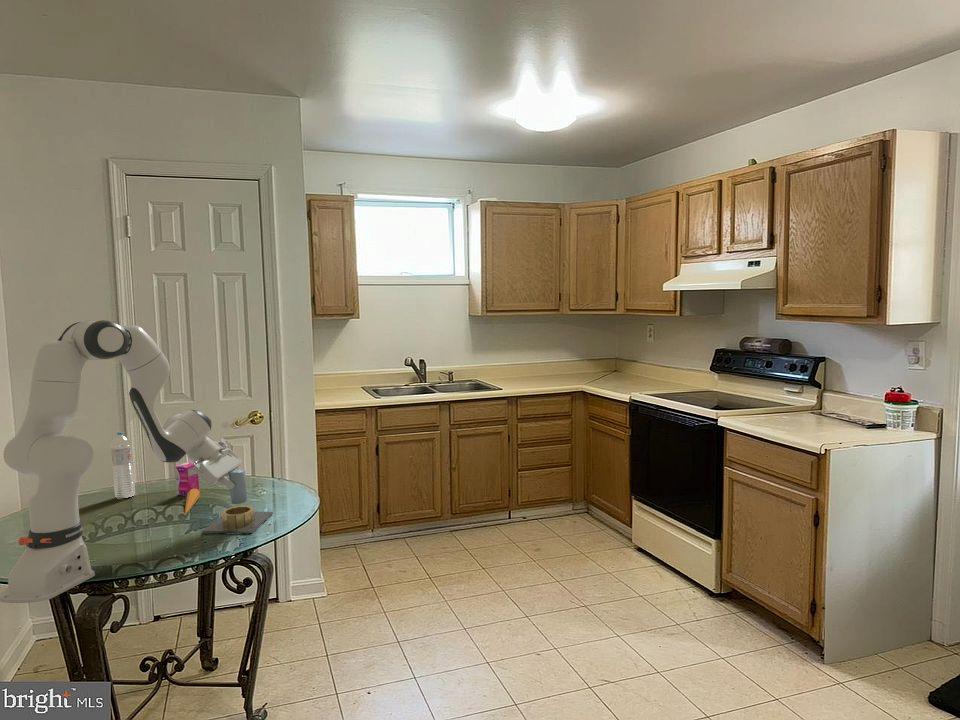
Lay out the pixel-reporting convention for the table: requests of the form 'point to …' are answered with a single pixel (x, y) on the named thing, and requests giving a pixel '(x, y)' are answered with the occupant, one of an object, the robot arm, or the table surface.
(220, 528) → the mounting plate
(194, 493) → the carrot
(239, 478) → the grey capsule peg
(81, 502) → the table surface
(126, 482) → the water bottle
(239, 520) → the brass socket
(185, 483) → the supplement box
